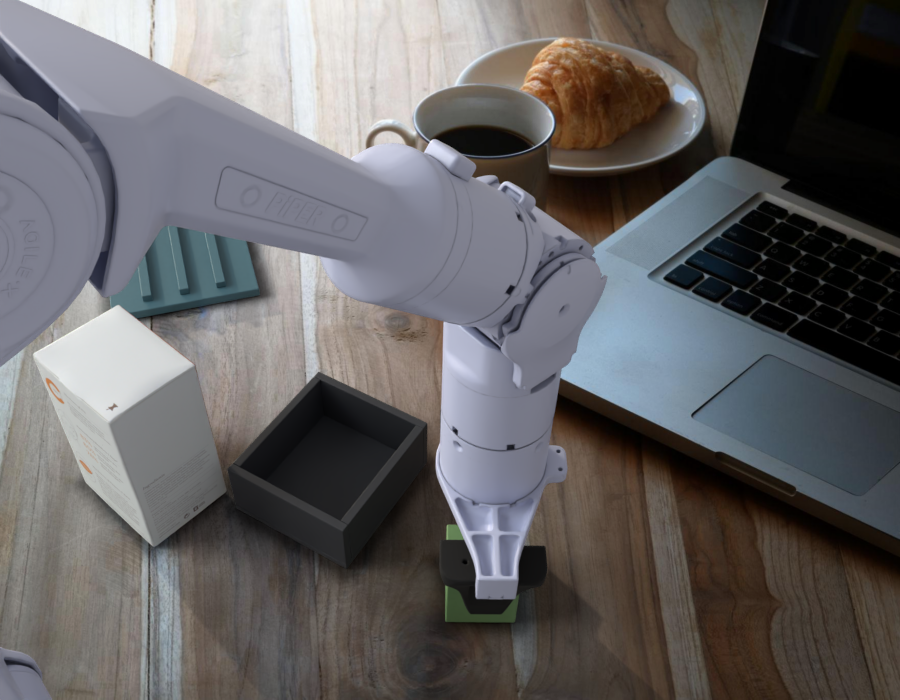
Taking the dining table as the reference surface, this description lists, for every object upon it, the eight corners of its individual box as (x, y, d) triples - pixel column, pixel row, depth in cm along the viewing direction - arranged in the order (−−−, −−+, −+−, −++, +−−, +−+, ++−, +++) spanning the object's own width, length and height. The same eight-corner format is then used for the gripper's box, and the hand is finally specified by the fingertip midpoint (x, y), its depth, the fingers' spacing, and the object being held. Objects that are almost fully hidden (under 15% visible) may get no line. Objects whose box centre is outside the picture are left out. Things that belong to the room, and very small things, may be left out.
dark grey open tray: (346, 569, 61) (342, 531, 58) (235, 508, 64) (226, 469, 61) (427, 462, 67) (427, 422, 64) (322, 411, 70) (318, 371, 67)
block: (445, 622, 59) (446, 586, 55) (445, 561, 62) (446, 523, 58) (515, 623, 59) (520, 587, 55) (511, 561, 62) (516, 524, 58)
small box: (229, 492, 65) (198, 364, 56) (153, 550, 61) (107, 425, 52) (158, 430, 68) (118, 301, 59) (83, 482, 65) (27, 354, 56)
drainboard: (260, 295, 79) (258, 283, 78) (113, 323, 76) (109, 310, 75) (225, 163, 92) (223, 151, 91) (99, 182, 89) (95, 170, 88)
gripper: (593, 530, 42) (559, 665, 52) (564, 308, 52) (540, 456, 62) (436, 529, 42) (432, 664, 52) (437, 306, 52) (434, 455, 62)
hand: (483, 551), depth 57 cm, fingers open, 7 cm apart
